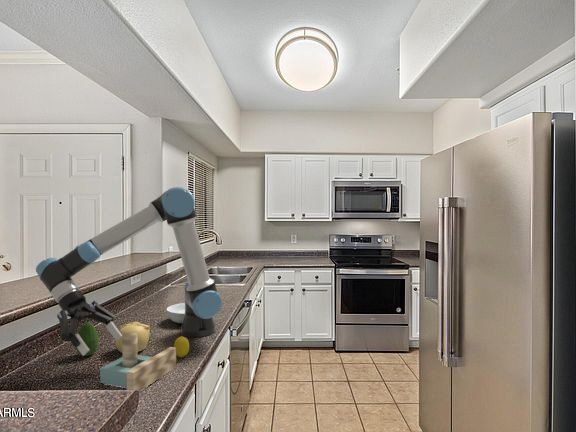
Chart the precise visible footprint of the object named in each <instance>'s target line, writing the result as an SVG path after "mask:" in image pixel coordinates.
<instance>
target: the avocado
mask: <svg viewBox="0 0 576 432" xmlns="http://www.w3.org/2000/svg"><path fill="white" fill-rule="evenodd" d="M77 334H79V335H80V337H81V338H82V340H83V341H84V343H85V344H86V345H87V347H88V348H89V351H88V352H87V354H86V355H84V356H86V357H90V356H91V355H93V354H95V352H96V351H97V349H98V348H99V345H100V336H99V334H98V331H97V330H96V328H95V325H94V324H93V323H91V322H86V323H84V324H83V325H81V327H80V328H79V330H78V332H77ZM74 348H75V350H76V352H77V353H78V354H79V355H81V356H83V355H82V354H81V353H80V351H79V350H78V348H77V347H74ZM84 356H83V357H84Z"/></svg>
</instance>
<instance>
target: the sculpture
mask: <svg viewBox="0 0 576 432" xmlns="http://www.w3.org/2000/svg"><path fill="white" fill-rule="evenodd" d="M150 329H151V327H150V325H148V324H144V323H141V322H139V321H132V322H129V323H125V324H122V325H120V326H119V331H120V333H121V334H122V336H123V335H124V334H127V333H137V353H139V352H141V351H143V350H144V349H146V347H147V345H148V343H149V340H150V335H151V334H150V333H151V331H150ZM115 345H116V349H117V350H118V352H120V353H122V337H121V338H120V339H119V340H118V341H116V340H115Z"/></svg>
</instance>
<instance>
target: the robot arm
mask: <svg viewBox="0 0 576 432" xmlns="http://www.w3.org/2000/svg"><path fill="white" fill-rule="evenodd" d="M194 197H195V196H194V195H193V194H192V193H191V191H190V190H188V188H187V189H186V188H184V187H179V186H175V187H172V188H168V190H165V191H164V192H163V193H162V194H161V195H159V197H157V198H155V199H154V200H152V201H151V202H149V204H148V206H147V207H145V208H143V209H141V210H140V211H138V212H136V213H134V214H133V215H130V216H129V217H128V218H125V219H124V220H121V221H120V222H118V223H116V224H115V225H112V226H111V227H110V228H108V229H105V230H104V231H102V232H100V233H99V234H97V235H96V236H93V237H92V238H90V239H88V240H87V241H85V242H83V243H81V244H78V245H77V246H75V248H73V249H72V250H71V251H70V252H67V254H65V255H63V256H62V257H60V258H58V259H57V257H47V259H43V260H42V261H40V262H39V263H38V264H37V266H36V267H35V272H36V274H37V276H38V277H39V279H40V281H41V282H42V284H44V286H45V287H46V289H47V290H48V291H49V293H50V294H51V296H52V297H53V299H54V300H55V301H56V303H58V306H59V307H60V309H61V310H60V311H59V313H58V314H57V315H56V317H57V318H58V322H59V331H60V340H61V341H66V342H70V343H71V344H72V345H73V347H74V348H75V347H77V348H78V350H79V351H80V353H81V354H82V355H81V354H80V355H81V356H82V357H84V355H86V354H87V352H88V351H89V348H88V347H87V345H86V344H85V343H84V341H83V340H82V338H81V337H80V335H79V334H78V333H77V332H76V331H77V327H78V321H81V320H85V319H92V320H95V321H97V322H99V323H101V324H104V325H106V329H107V331H109V333H110V334H111V336H112V337H113V338H114V340H115V342H116V341H118V340H119V339H120V338H121V337H122V334H121V333H120V329H119V327H118V326H117V324H116V323H115V322H114V320H116V318H117V316H116V315H115V314H113V313H112V312H110V311H109V310H107V309H106V308H105V307H103V306H101V305H100V304H99V303H98V302H97V301H96V300H93V301H92V302H91V303H88V302H87V300H86V299H87V298H86V296H85V295H84V293H83V292H82V291H81V290H80V288H79V287H78V286H77V283H75V281H74V280H73V278H72V277H73V276H75V275H76V274H78V273H79V272H81V271H82V270H84V269H85V268H86V267H87V268H88V266H89V265H91V264H94V263H95V262H96V261H97V260H98V259H99V258H101V255H104V254H105V253H107V252H108V251H110V250H112V249H114V248H116V247H117V246H119V245H121V244H123V243H125V242H126V241H128V240H130V239H131V238H133V237H134V236H137V235H138V234H140V233H141V232H144V231H145V230H147V229H149V228H151V226H153V225H156V224H157V223H159V222H160V223H163V222H165V221H166V222H167V226H169V227H171V228H172V230H173V233H174V236H175V241H176V244H177V247H178V251H179V254H180V258H181V261H182V264H183V268H184V272H185V275H186V278H187V279H186V280H187V281H186V282H185V283H184V303H185V317H184V320H183V323H181V327H180V334H181V336H183V337H186V338H200V337H206V336H210V335H212V334H214V333H215V332H216V329H217V327H216V322H215V320H214V317H215V316H217V315H218V314H219V313H220V311H221V309H222V306H223V299H222V297H221V294H220V293H219V292H218V289H217V286H216V281H215V279H214V278H211V277H210V274H209V270H208V267H207V263H206V259H205V257H204V256H205V255H204V252H203V248H202V245H201V241H200V237H199V235H198V231H197V226H196V223H195V221H196V219H197V218H198V216H197V212H196V209H195V206H196V204H195V203H196V202H195V201H196V200H195V198H194ZM68 317H69V318H70V320H69V321H68ZM76 333H77V334H76Z"/></svg>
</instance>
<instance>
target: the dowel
mask: <svg viewBox="0 0 576 432" xmlns="http://www.w3.org/2000/svg"><path fill="white" fill-rule="evenodd" d="M137 355H138V352H137V333H127V334H124V335H123V336H122V355H121V357H122V367H125V368H133V367H134V366H136V365H137Z"/></svg>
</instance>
